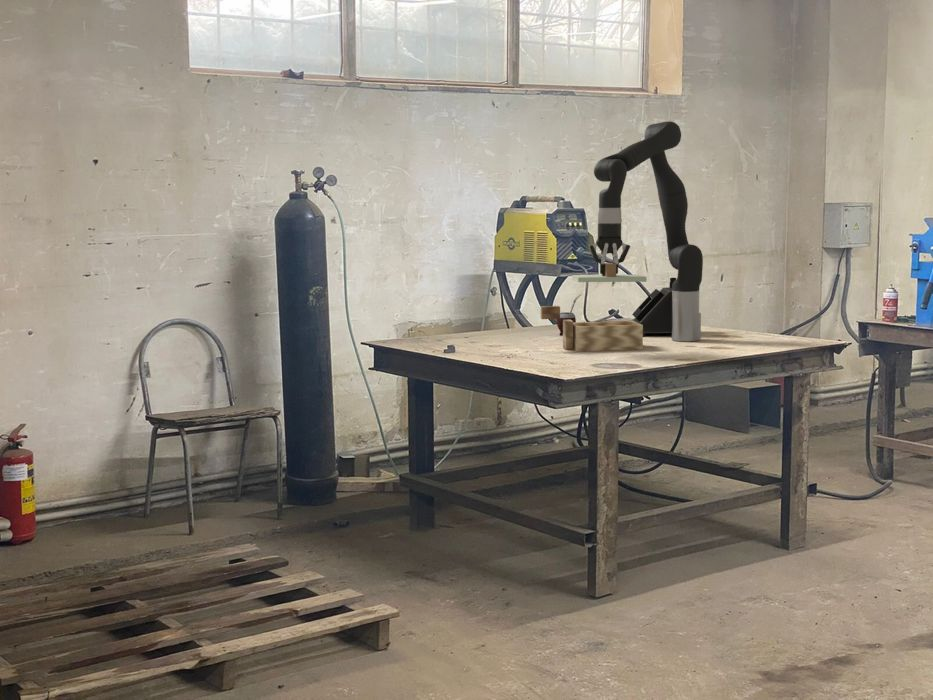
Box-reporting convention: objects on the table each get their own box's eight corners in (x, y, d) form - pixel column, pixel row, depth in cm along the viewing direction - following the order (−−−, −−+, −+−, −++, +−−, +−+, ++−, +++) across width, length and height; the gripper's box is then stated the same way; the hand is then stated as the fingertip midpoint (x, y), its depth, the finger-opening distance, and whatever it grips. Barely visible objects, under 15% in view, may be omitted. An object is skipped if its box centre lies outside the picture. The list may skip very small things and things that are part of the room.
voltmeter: (631, 331, 421) (631, 277, 418) (675, 331, 420) (676, 277, 418) (636, 336, 405) (636, 281, 402) (682, 336, 404) (682, 280, 402)
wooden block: (558, 317, 376) (558, 305, 375) (560, 318, 373) (560, 306, 372) (540, 318, 375) (540, 306, 375) (542, 319, 372) (542, 307, 372)
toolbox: (633, 344, 384) (634, 316, 383) (642, 349, 372) (642, 320, 371) (561, 346, 382) (561, 318, 381) (567, 351, 370) (567, 322, 369)
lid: (638, 279, 374) (638, 262, 373) (646, 281, 362) (646, 264, 361) (572, 279, 372) (572, 262, 372) (578, 282, 360) (578, 264, 360)
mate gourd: (552, 334, 414) (552, 294, 412) (567, 333, 419) (567, 292, 417) (567, 336, 408) (567, 295, 406) (582, 334, 413) (582, 293, 411)
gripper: (628, 221, 369) (627, 274, 371) (586, 222, 368) (585, 275, 370) (633, 222, 361) (632, 276, 364) (590, 222, 360) (589, 276, 363)
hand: (608, 275), depth 367 cm, fingers closed on lid, 3 cm apart
